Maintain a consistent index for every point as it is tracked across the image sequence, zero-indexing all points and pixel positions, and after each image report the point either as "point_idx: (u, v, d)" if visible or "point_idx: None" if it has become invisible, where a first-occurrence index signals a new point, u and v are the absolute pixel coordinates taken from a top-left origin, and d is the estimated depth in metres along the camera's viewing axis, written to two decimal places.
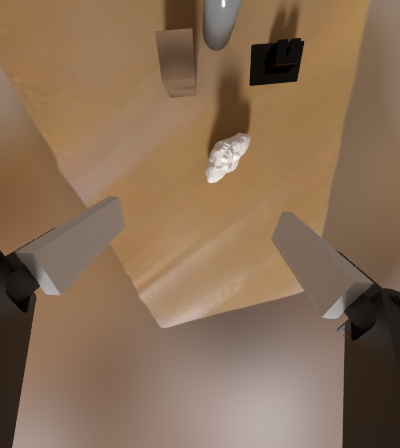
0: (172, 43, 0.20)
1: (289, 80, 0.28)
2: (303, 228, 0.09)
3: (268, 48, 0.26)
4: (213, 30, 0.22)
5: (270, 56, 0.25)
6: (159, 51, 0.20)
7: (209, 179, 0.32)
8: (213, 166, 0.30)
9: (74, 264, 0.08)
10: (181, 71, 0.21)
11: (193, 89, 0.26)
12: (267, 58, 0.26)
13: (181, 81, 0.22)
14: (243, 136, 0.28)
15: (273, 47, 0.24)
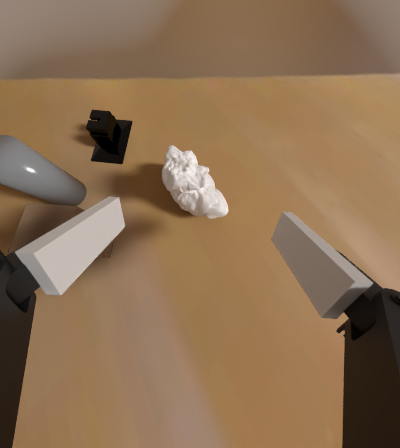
0: (29, 230, 0.14)
1: (129, 127, 0.27)
2: (303, 228, 0.09)
3: (97, 146, 0.26)
4: (55, 188, 0.19)
5: (100, 140, 0.24)
6: None
7: (222, 211, 0.19)
8: (202, 201, 0.18)
9: (74, 264, 0.08)
10: None
11: None
12: (103, 146, 0.25)
13: None
14: None
15: (92, 135, 0.23)
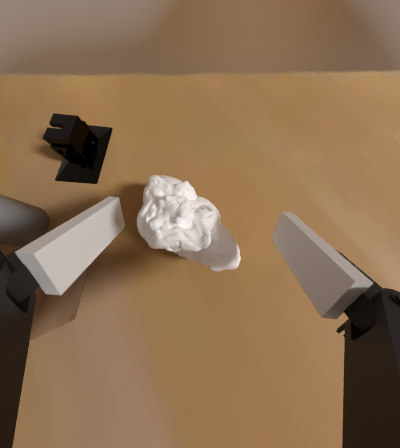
0: None
1: (108, 135, 0.21)
2: (303, 228, 0.09)
3: (66, 160, 0.20)
4: None
5: (66, 154, 0.18)
6: None
7: (232, 264, 0.13)
8: (203, 251, 0.12)
9: (74, 264, 0.08)
10: None
11: None
12: (72, 160, 0.19)
13: None
14: None
15: (54, 147, 0.17)
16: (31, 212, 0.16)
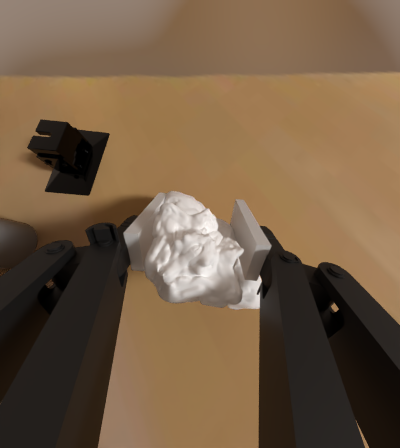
0: None
1: (104, 143, 0.19)
2: (244, 211, 0.11)
3: (56, 170, 0.18)
4: None
5: (55, 164, 0.16)
6: None
7: (256, 305, 0.10)
8: None
9: (149, 247, 0.09)
10: None
11: None
12: (63, 171, 0.17)
13: None
14: None
15: (41, 158, 0.15)
16: (16, 231, 0.14)
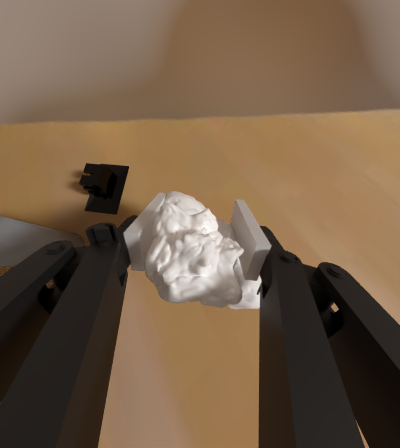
0: None
1: (125, 173, 0.26)
2: (244, 211, 0.11)
3: (92, 194, 0.25)
4: None
5: (94, 192, 0.23)
6: None
7: (256, 305, 0.10)
8: None
9: (149, 247, 0.09)
10: None
11: None
12: (98, 195, 0.24)
13: None
14: None
15: (86, 189, 0.22)
16: (73, 240, 0.21)
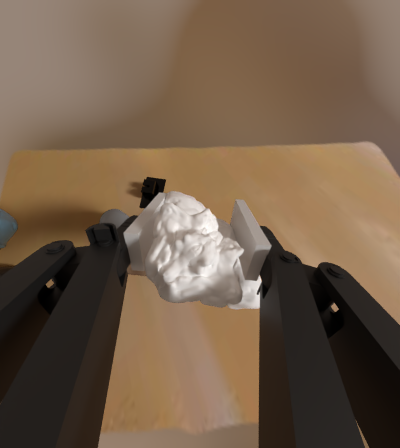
0: None
1: (163, 184, 0.41)
2: (244, 211, 0.11)
3: (143, 198, 0.40)
4: None
5: (147, 196, 0.38)
6: (131, 273, 0.27)
7: (256, 305, 0.10)
8: None
9: (149, 247, 0.09)
10: None
11: None
12: (148, 198, 0.39)
13: None
14: None
15: (143, 194, 0.37)
16: None
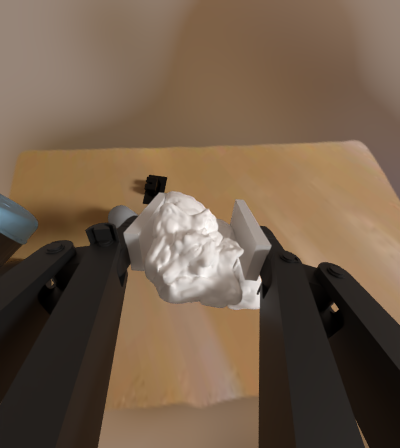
0: None
1: (165, 182, 0.44)
2: (244, 211, 0.11)
3: (146, 194, 0.42)
4: None
5: (150, 193, 0.40)
6: None
7: (256, 306, 0.10)
8: None
9: (149, 247, 0.09)
10: None
11: None
12: (150, 195, 0.42)
13: None
14: None
15: (146, 191, 0.40)
16: None
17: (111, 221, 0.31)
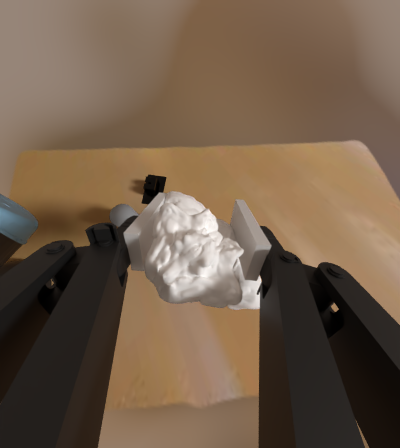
0: None
1: (164, 181, 0.44)
2: (244, 211, 0.11)
3: (145, 194, 0.42)
4: None
5: (149, 193, 0.40)
6: None
7: (256, 306, 0.10)
8: None
9: (149, 247, 0.09)
10: None
11: None
12: (149, 195, 0.42)
13: None
14: None
15: (145, 191, 0.40)
16: None
17: (112, 220, 0.31)
